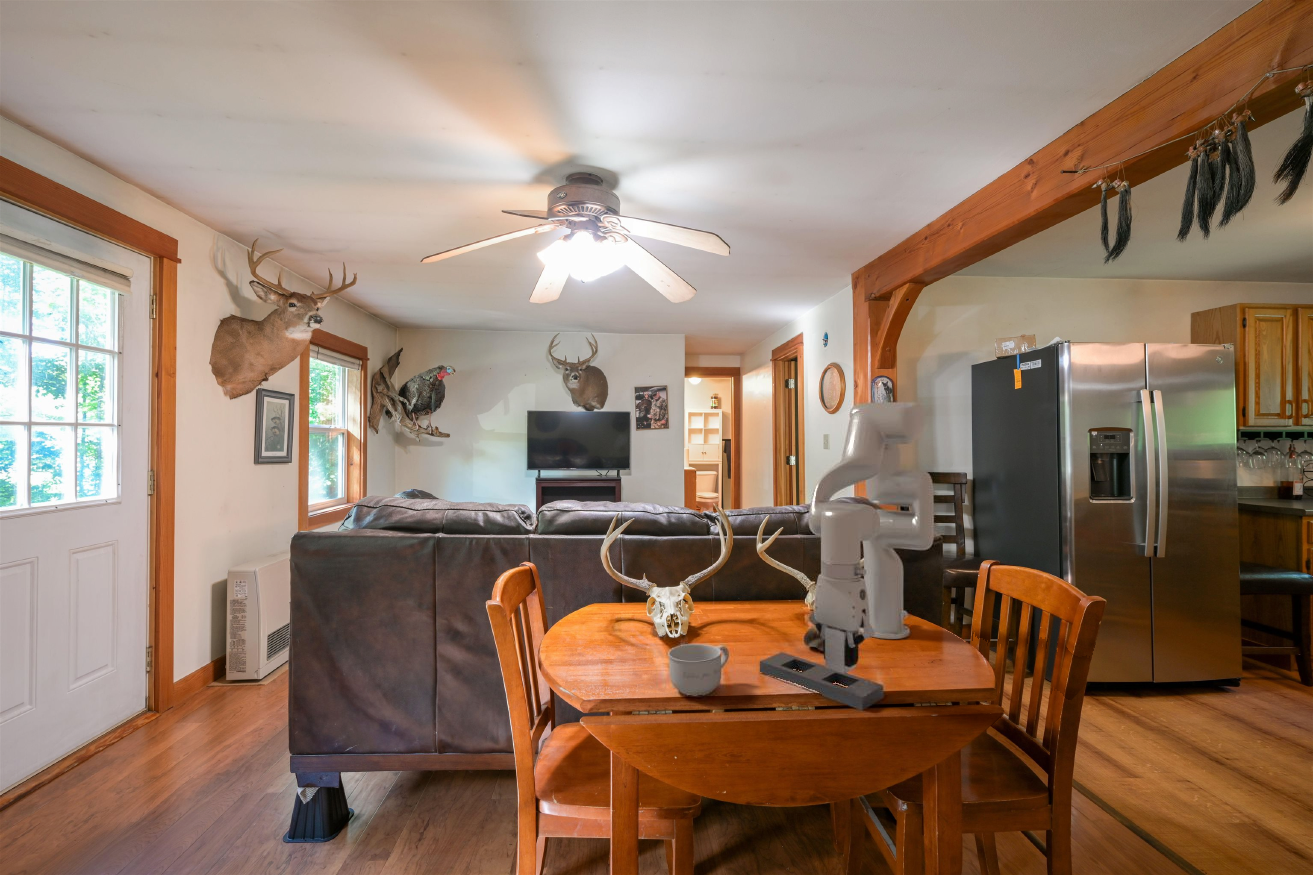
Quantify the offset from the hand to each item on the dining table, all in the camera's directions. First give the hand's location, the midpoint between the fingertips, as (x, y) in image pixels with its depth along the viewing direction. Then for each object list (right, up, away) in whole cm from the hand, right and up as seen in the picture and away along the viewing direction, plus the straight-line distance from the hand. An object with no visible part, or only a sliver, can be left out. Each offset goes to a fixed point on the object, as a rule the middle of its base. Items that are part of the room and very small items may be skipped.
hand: (840, 660), depth 121 cm
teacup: (-28, -7, +2) cm, 28 cm away
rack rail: (-3, -6, +4) cm, 8 cm away
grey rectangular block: (0, -1, 0) cm, 1 cm away
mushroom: (+2, -6, +24) cm, 25 cm away
